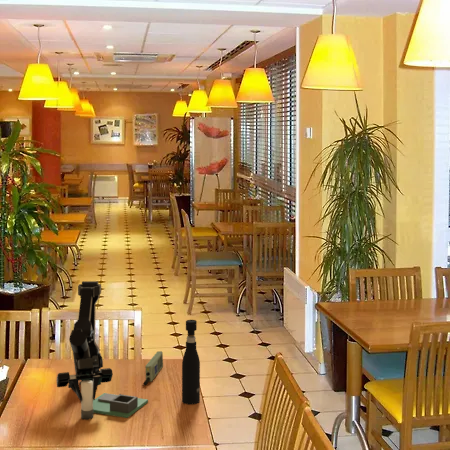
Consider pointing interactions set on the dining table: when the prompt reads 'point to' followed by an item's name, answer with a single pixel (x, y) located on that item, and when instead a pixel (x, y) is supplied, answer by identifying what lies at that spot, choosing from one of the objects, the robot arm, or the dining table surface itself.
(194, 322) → the wine bottle
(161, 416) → the dining table surface
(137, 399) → the board
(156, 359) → the handheld radio
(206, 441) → the dining table surface
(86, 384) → the white cylinder
